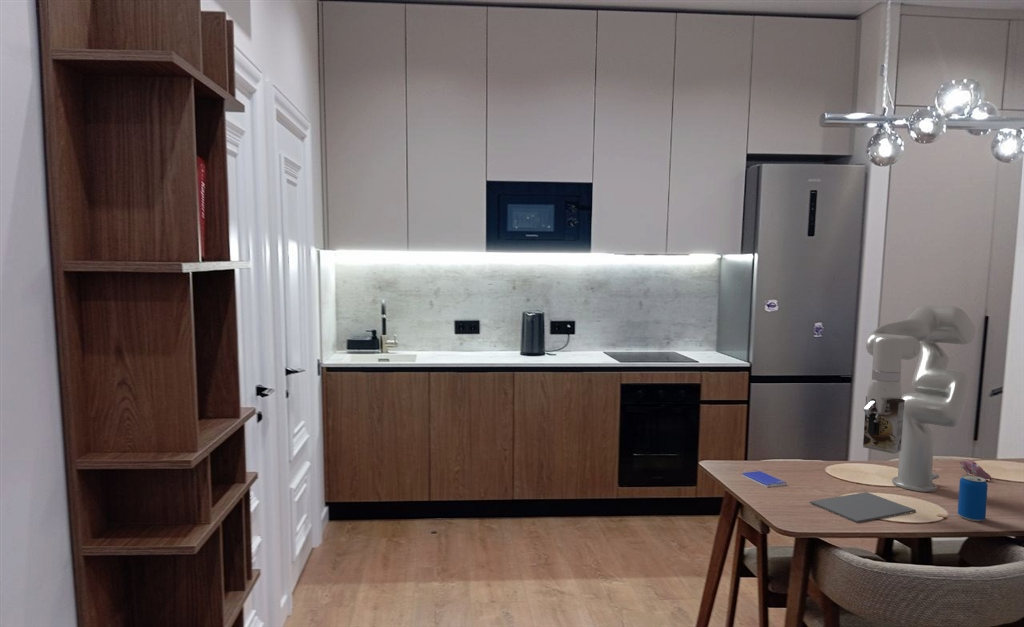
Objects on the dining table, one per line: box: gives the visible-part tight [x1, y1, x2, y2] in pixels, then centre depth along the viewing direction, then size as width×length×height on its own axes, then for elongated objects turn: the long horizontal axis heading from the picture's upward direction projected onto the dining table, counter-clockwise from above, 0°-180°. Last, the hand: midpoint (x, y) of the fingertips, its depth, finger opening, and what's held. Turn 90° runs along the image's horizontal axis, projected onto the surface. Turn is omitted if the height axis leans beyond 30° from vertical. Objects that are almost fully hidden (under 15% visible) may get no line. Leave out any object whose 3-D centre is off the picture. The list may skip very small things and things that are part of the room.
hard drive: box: [741, 470, 787, 488], centre depth 208 cm, size 2×8×12 cm
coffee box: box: [862, 395, 905, 455], centre depth 185 cm, size 9×6×16 cm
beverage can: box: [957, 474, 988, 522], centre depth 177 cm, size 6×6×12 cm
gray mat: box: [809, 491, 916, 524], centre depth 184 cm, size 25×16×1 cm, turn 112°
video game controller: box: [959, 459, 992, 480], centre depth 216 cm, size 10×5×7 cm, turn 173°
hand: (882, 433), depth 185 cm, fingers closed on coffee box, 7 cm apart
